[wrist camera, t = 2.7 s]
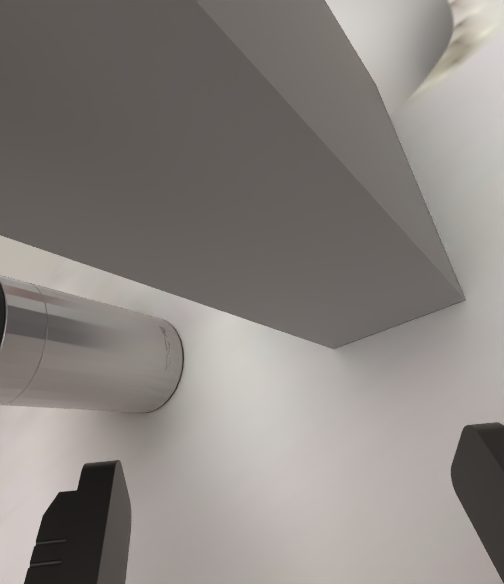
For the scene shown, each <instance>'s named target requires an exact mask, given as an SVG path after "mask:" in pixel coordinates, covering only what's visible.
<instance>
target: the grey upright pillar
mask: <svg viewBox="0 0 504 584" xmlns="http://www.w3.org/2000/svg"><path fill="white" fill-rule="evenodd" d="M0 235H1V236H4V237H7V238H10V239H13V240H16V241H19V242H22V243H25V244H28V245H31V246H33V247H36V248H40V249H42V250H45V251H48V252H51V253H54V254H57V255H60V256H63V257H66V258H69V259H72V260H74V261H77V262H80V263H83V264H86V265H89V266H92V267H95V268H98V269H101V270H104V271H107V272H110V273H113V274H115V275H118V276H121V277H124V278H127V279H130V280H133V281H136V282H139V283H142V284H145V285H148V286H151V287H154V288H156V289H159V290H162V291H165V292H168V293H171V294H174V295H177V296H180V297H183V298H186V299H189V300H192V301H195V302H197V303H200V304H203V305H206V306H209V307H212V308H215V309H218V310H221V311H224V312H227V313H230V314H233V315H236V316H238V317H241V318H244V319H247V320H250V321H253V322H256V323H259V324H262V325H265V326H268V327H271V328H274V329H277V330H279V331H282V332H285V333H288V334H291V335H294V336H297V337H300V338H303V339H306V340H309V341H312V342H315V343H318V344H320V345H323V346H326V347H329V348H332V349H335V348H337V347H340V346H343V345H346V344H348V343H351V342H354V341H356V340H359V339H362V338H364V337H367V336H370V335H372V334H375V333H378V332H381V331H383V330H386V329H389V328H391V327H394V326H397V325H399V324H402V323H405V322H407V321H410V320H413V319H416V318H418V317H421V316H424V315H426V314H429V313H432V312H434V311H437V310H440V309H442V308H445V307H448V306H451V305H453V304H456V303H459V302H461V301H464V300H465V297H464V295H463V292H462V290H461V288H460V285H459V283H458V280H457V278H456V276H455V273H454V271H453V268H452V266H451V264H450V261H449V259H448V256H447V254H446V252H445V249H444V247H443V244H442V242H441V240H440V237H439V235H438V232H437V230H436V228H435V225H434V223H433V220H432V218H431V216H430V213H429V211H428V208H427V206H426V204H425V201H424V199H423V196H422V194H421V192H420V189H419V187H418V185H417V182H416V180H415V177H414V175H413V173H412V170H411V168H410V165H409V163H408V161H407V158H406V156H405V153H404V151H403V149H402V146H401V144H400V141H399V139H398V137H397V134H396V132H395V129H394V127H393V125H392V122H391V120H390V117H389V115H388V113H387V110H386V108H385V105H384V103H383V101H382V98H381V96H380V93H379V91H378V89H377V86H376V84H375V83H374V81H373V79H372V77H371V76H370V74H369V72H368V71H367V69H366V68H365V66H364V64H363V63H362V61H361V59H360V58H359V56H358V54H357V53H356V51H355V49H354V48H353V46H352V45H351V43H350V41H349V40H348V38H347V36H346V35H345V33H344V31H343V29H342V28H341V26H340V25H339V23H338V21H337V20H336V18H335V16H334V15H333V13H332V11H331V10H330V8H329V6H328V5H327V3H326V1H325V0H0Z"/></svg>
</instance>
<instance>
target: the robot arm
mask: <svg viewBox="0 0 504 584" xmlns="http://www.w3.org/2000/svg"><path fill="white" fill-rule="evenodd" d="M182 361H183V356H182V346H181V342H180V339H179V337H178V335H177V332H176V331H175V330H174V328H173V327H172V326H171V325H170V324H169V323H167V322H166V321H164V320H161V319H159V318H155V317H151V316H148V315H144V314H140V313H137V312H133V311H130V310H127V309H123V308H119V307H116V306H112V305H108V304H105V303H101V302H97V301H94V300H90V299H86V298H83V297H79V296H75V295H72V294H68V293H64V292H61V291H57V290H53V289H50V288H46V287H42V286H39V285H35V284H31V283H27V282H23V281H20V280H15V279H12V278H9V277H5V276H1V275H0V405H9V406H28V407H46V408H64V409H83V410H101V411H116V412H135V413H146V412H151V411H153V410H156V409H157V408H159V407H160V406H162V405H163V404H164V403H165V402H166V401H167V400H168V399H169V398H170V396H171V395H172V393H173V392H174V390H175V388H176V386H177V383H178V381H179V378H180V374H181V370H182ZM451 478H452V483H453V487H454V490H455V492H456V494H457V496H458V498H459V500H460V502H461V504H462V506H463V508H464V509H465V511H466V513H467V515H468V517H469V519H470V521H471V523H472V524H473V526H474V528H475V530H476V532H477V534H478V536H479V538H480V540H481V541H482V543H483V545H484V547H485V549H486V551H487V553H488V555H489V556H490V558H491V560H492V562H493V564H494V566H495V568H496V570H497V572H498V573H499V575H500V577H501V579H502V581H503V583H504V426H503V425H502V424H500V423H486V424H475V425H467V426H465V427H464V428H463V431H462V434H461V437H460V440H459V443H458V447H457V450H456V453H455V456H454V460H453V463H452V466H451ZM130 533H131V504H130V499H129V495H128V490H127V486H126V482H125V478H124V473H123V469H122V465H121V462H120V461H119V460H117V461H106V462H96V463H86V464H85V465H84V466H83V468H82V472H81V476H80V480H79V485H78V489H77V490H76V491H66V492H59V493H58V495H57V496H56V498H55V499H54V501H53V502H52V503H51V505H50V506H49V508H48V509H47V511H46V512H45V513H44V515H43V517H42V521H41V525H40V528H39V532H38V535H37V539H36V546H34V550H33V553H32V557H31V560H30V568H28V571H27V574H26V578H25V582H24V584H125V579H126V570H127V561H128V552H129V543H130Z"/></svg>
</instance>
